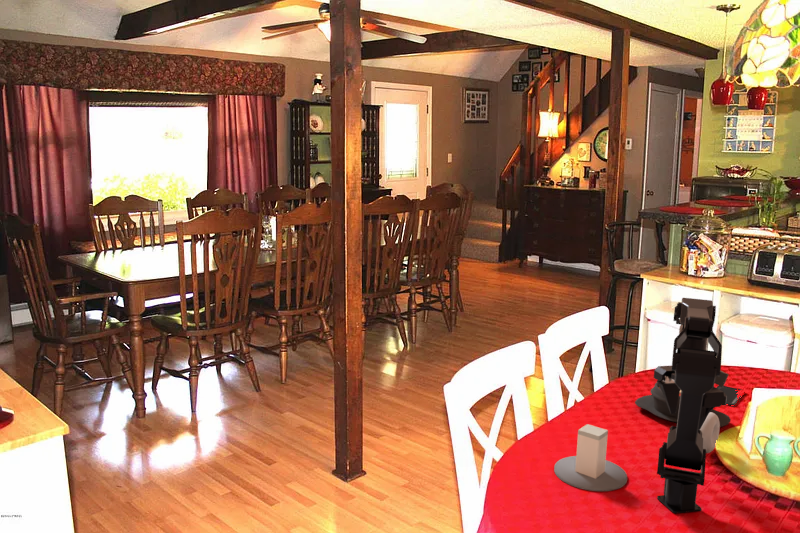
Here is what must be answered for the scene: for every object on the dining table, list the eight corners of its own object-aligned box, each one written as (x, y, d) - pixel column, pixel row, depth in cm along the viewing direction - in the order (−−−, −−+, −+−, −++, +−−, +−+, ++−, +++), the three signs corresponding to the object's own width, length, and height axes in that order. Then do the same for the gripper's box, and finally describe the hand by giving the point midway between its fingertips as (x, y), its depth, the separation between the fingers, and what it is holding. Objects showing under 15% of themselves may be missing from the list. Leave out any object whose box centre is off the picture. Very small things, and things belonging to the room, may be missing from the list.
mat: (640, 488, 156) (641, 485, 156) (573, 494, 153) (573, 491, 152) (605, 455, 171) (605, 453, 171) (542, 460, 168) (543, 458, 168)
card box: (604, 471, 162) (608, 430, 160) (595, 478, 158) (599, 436, 157) (584, 464, 165) (587, 424, 163) (575, 471, 162) (578, 429, 160)
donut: (704, 443, 180) (708, 405, 178) (719, 447, 178) (723, 409, 176) (692, 456, 172) (696, 417, 170) (707, 460, 170) (711, 421, 168)
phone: (746, 390, 216) (734, 404, 205) (745, 394, 217) (733, 408, 205) (718, 384, 221) (705, 397, 209) (718, 388, 221) (704, 401, 210)
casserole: (622, 413, 198) (625, 384, 197) (651, 396, 212) (654, 369, 210) (714, 441, 182) (718, 409, 180) (740, 421, 195) (743, 391, 193)
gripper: (752, 366, 150) (744, 436, 153) (697, 340, 168) (691, 403, 171) (705, 368, 147) (698, 439, 150) (655, 342, 165) (649, 406, 168)
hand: (684, 421), depth 160 cm, fingers open, 9 cm apart
